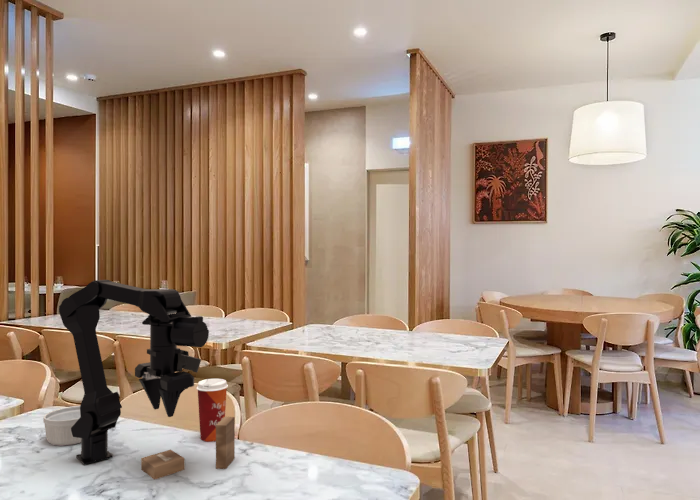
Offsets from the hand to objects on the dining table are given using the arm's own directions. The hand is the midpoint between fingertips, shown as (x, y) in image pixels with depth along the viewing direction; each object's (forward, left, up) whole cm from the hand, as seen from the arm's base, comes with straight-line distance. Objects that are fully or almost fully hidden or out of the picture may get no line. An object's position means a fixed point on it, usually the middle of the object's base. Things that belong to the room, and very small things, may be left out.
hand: (163, 412), depth 114 cm
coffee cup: (-10, +18, -13) cm, 24 cm away
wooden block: (+7, +12, -13) cm, 19 cm away
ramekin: (-36, -9, -13) cm, 39 cm away
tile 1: (0, 0, -13) cm, 13 cm away
